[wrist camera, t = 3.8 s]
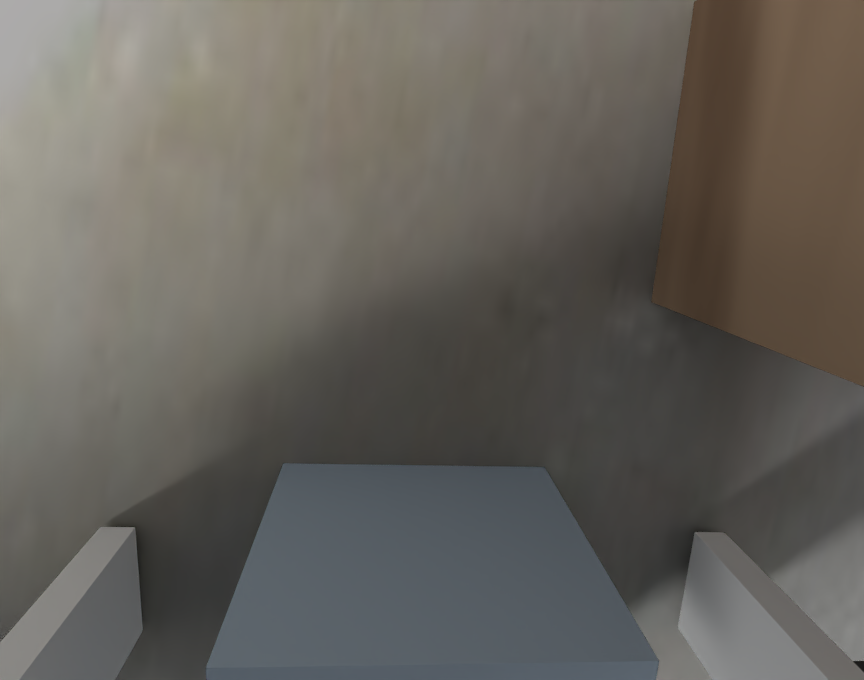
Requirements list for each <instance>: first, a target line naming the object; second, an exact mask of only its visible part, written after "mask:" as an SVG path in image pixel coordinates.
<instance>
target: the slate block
mask: <svg viewBox="0 0 864 680" xmlns="http://www.w3.org/2000/svg"><path fill="white" fill-rule="evenodd" d="M658 664H659V660H658V658H657V657H656V655H655V653H654V652H653V650H652V648H651V647H650V645H649V643H648V641H647V640H646V638H645V636H644V635H643V633H642V631H641V630H640V628H639V626H638V625H637V623H636V621H635V619H634V618H633V616H632V614H631V613H630V611H629V609H628V608H627V606H626V604H625V603H624V601H623V599H622V597H621V596H620V594H619V592H618V591H617V589H616V587H615V586H614V584H613V582H612V581H611V579H610V577H609V575H608V574H607V572H606V570H605V569H604V567H603V565H602V564H601V562H600V560H599V558H598V557H597V555H596V553H595V552H594V550H593V548H592V547H591V545H590V543H589V542H588V540H587V538H586V536H585V535H584V533H583V531H582V530H581V528H580V526H579V525H578V523H577V521H576V520H575V518H574V516H573V514H572V513H571V511H570V509H569V508H568V506H567V504H566V503H565V501H564V499H563V498H562V496H561V494H560V492H559V491H558V489H557V487H556V486H555V484H554V482H553V481H552V479H551V477H550V475H549V474H548V472H547V470H546V469H545V467H508V466H436V465H365V464H294V463H283V466H282V468H281V471H280V473H279V476H278V479H277V481H276V484H275V487H274V489H273V492H272V495H271V497H270V500H269V502H268V505H267V508H266V510H265V513H264V516H263V518H262V521H261V524H260V526H259V529H258V531H257V534H256V537H255V539H254V542H253V545H252V547H251V550H250V553H249V555H248V558H247V560H246V563H245V566H244V568H243V571H242V574H241V576H240V579H239V582H238V584H237V587H236V590H235V592H234V595H233V597H232V600H231V603H230V605H229V608H228V611H227V613H226V616H225V619H224V621H223V624H222V626H221V629H220V632H219V634H218V637H217V640H216V642H215V645H214V648H213V650H212V653H211V655H210V658H209V661H208V663H207V666H206V680H656V676H657V670H658Z"/></svg>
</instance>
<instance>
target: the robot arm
mask: <svg viewBox="0 0 864 680" xmlns="http://www.w3.org/2000/svg"><path fill="white" fill-rule="evenodd" d="M678 629H679V630H680V632H681V633H682V635H683V636H684V638H685V639H686V641H687V642H688V644H689V645H690V647H691V648H692V650H693V651H694V653H695V654H696V656H697V657H698V659H699V660H700V662H701V663H702V665H703V666H704V668H705V669H706V671H707V672H708V674H709V675H710V677H711V678H712V680H864V661H852V660H851V659H850V658H849V657H848V656H847V655H846V654H845V653H844V652H843V651H842V650H841V649H840V648H839V647H838V646H837V645H836V644H835V643H834V642H833V641H832V640H831V639H830V638H829V637H828V636H827V635H826V634H825V633H824V632H823V631H822V630H821V629H820V628H819V627H818V626H817V625H816V624H815V623H814V622H813V621H812V620H811V619H810V618H809V617H808V616H807V615H806V614H805V613H804V612H803V611H802V610H801V609H800V608H799V607H798V606H797V605H796V604H795V603H794V602H793V601H792V600H791V599H790V598H789V597H788V596H787V595H786V594H785V593H784V592H783V591H782V590H781V589H780V588H779V587H778V586H777V585H776V584H775V583H774V582H773V581H772V580H771V579H770V578H769V577H768V576H767V575H766V574H765V573H764V572H763V571H762V570H761V569H760V568H759V567H758V566H757V565H756V564H755V563H754V562H753V561H752V560H751V558H750V557H749V556H748V555H747V554H746V553H745V552H744V551H743V550H742V549H741V548H740V547H739V546H738V545H737V544H736V543H735V542H734V541H733V540H732V539H731V538H730V537H729V536H728V535H727V534H726V533H725V532H695V534H694V539H693V545H692V550H691V556H690V561H689V567H688V573H687V578H686V584H685V589H684V595H683V600H682V606H681V612H680V617H679V623H678ZM142 631H143V625H142V611H141V598H140V584H139V571H138V557H137V544H136V530H135V527H100V528H99V529H98V530H97V531H96V532H95V534H94V535H93V536H92V537H91V538H90V539H89V540H88V542H87V543H86V544H85V545H84V546H83V547H82V549H81V550H80V551H79V552H78V553H77V554H76V555H75V557H74V558H73V559H72V560H71V561H70V562H69V564H68V565H67V566H66V567H65V568H64V569H63V570H62V572H61V573H60V574H59V575H58V576H57V577H56V579H55V580H54V581H53V582H52V583H51V584H50V585H49V587H48V588H47V589H46V590H45V591H44V592H43V594H42V595H41V596H40V597H39V598H38V599H37V600H36V602H35V603H34V604H33V605H32V606H31V607H30V609H29V610H28V611H27V612H26V613H25V614H24V615H23V617H22V618H21V619H20V620H19V621H18V622H17V623H16V625H15V626H14V627H13V628H12V629H11V630H10V632H9V633H8V634H7V635H6V636H5V637H4V638H3V640H2V641H1V642H0V680H115V679H116V677H117V676H118V674H119V672H120V670H121V669H122V667H123V665H124V663H125V661H126V660H127V658H128V656H129V654H130V653H131V651H132V649H133V647H134V645H135V644H136V642H137V640H138V638H139V637H140V635H141V633H142Z"/></svg>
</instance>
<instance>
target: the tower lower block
mask: <svg viewBox="0 0 864 680" xmlns="http://www.w3.org/2000/svg"><path fill="white" fill-rule="evenodd" d="M651 302H652V303H655V304H658V305H660V306H663V307H665V308H668V309H670V310H673V311H675V312H678V313H680V314H683V315H685V316H688V317H690V318H693V319H695V320H698V321H700V322H703V323H705V324H708V325H710V326H713V327H715V328H718V329H720V330H723V331H725V332H728V333H730V334H733V335H735V336H738V337H740V338H743V339H745V340H748V341H750V342H753V343H755V344H758V345H760V346H763V347H766V348H768V349H771V350H773V351H776V352H778V353H781V354H783V355H786V356H788V357H791V358H793V359H796V360H798V361H801V362H803V363H806V364H808V365H811V366H813V367H816V368H818V369H821V370H823V371H826V372H828V373H831V374H833V375H836V376H838V377H841V378H843V379H846V380H848V381H851V382H853V383H856V384H858V385H861V386H863V387H864V0H697V1H695V2H694V8H693V15H692V22H691V29H690V36H689V43H688V50H687V57H686V64H685V71H684V78H683V85H682V92H681V99H680V106H679V112H678V119H677V126H676V133H675V140H674V147H673V154H672V161H671V168H670V175H669V182H668V189H667V196H666V203H665V210H664V217H663V224H662V231H661V238H660V245H659V252H658V259H657V266H656V273H655V280H654V286H653V293H652V300H651Z"/></svg>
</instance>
